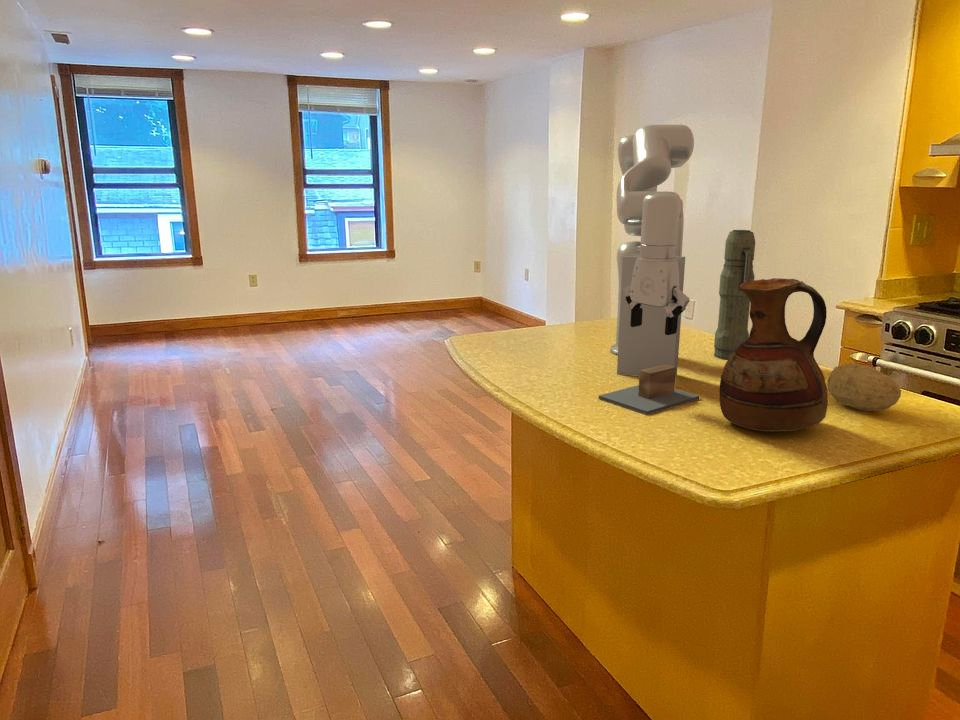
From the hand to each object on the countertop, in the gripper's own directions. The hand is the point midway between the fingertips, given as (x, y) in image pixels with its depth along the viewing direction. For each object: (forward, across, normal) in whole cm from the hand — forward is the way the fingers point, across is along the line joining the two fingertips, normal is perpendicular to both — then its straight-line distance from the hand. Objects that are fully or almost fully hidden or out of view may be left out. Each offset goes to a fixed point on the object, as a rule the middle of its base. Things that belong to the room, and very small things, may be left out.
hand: (652, 330), depth 153 cm
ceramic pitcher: (+16, +26, +6) cm, 31 cm away
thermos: (+17, -12, +48) cm, 53 cm away
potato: (+16, +32, +30) cm, 47 cm away
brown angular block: (+15, +1, +2) cm, 15 cm away
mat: (+16, 0, 0) cm, 16 cm away
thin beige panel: (+17, -14, +16) cm, 26 cm away
